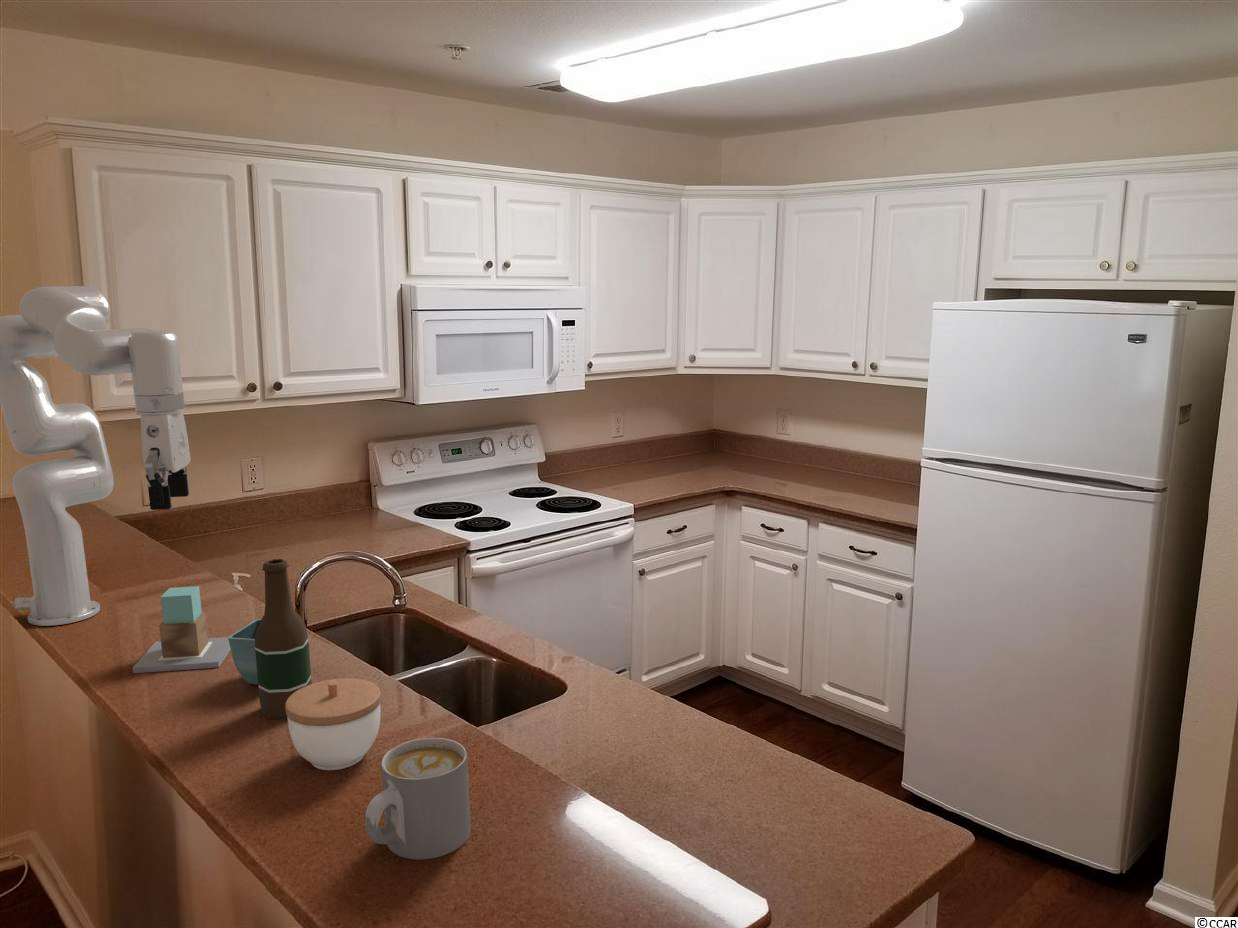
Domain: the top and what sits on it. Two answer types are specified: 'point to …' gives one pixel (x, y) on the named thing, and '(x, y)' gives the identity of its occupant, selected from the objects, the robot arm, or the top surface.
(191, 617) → the teal block
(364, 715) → the lidded bowl
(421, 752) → the coffee mug
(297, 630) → the beer bottle
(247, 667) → the flower pot
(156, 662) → the pad
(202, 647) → the walnut block
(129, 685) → the top surface
